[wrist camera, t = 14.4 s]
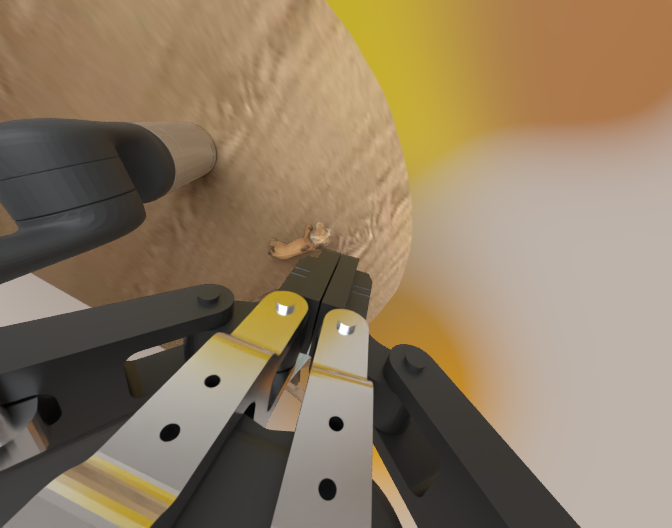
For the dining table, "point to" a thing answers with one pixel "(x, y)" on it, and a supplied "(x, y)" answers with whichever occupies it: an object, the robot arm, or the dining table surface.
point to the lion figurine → (303, 243)
